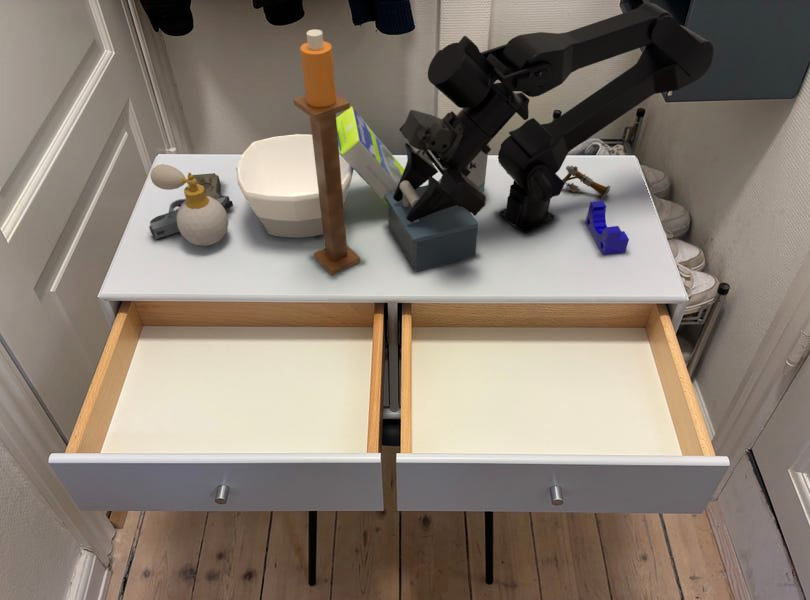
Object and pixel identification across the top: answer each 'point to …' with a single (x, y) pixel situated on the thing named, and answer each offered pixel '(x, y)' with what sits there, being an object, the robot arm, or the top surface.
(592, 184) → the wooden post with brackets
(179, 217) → the perfume bottle
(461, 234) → the compartment
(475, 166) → the beverage can
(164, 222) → the handgun
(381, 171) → the box
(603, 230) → the cable holder
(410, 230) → the lid
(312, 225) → the bowl
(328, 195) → the stand
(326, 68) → the detergent bottle
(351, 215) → the top surface
